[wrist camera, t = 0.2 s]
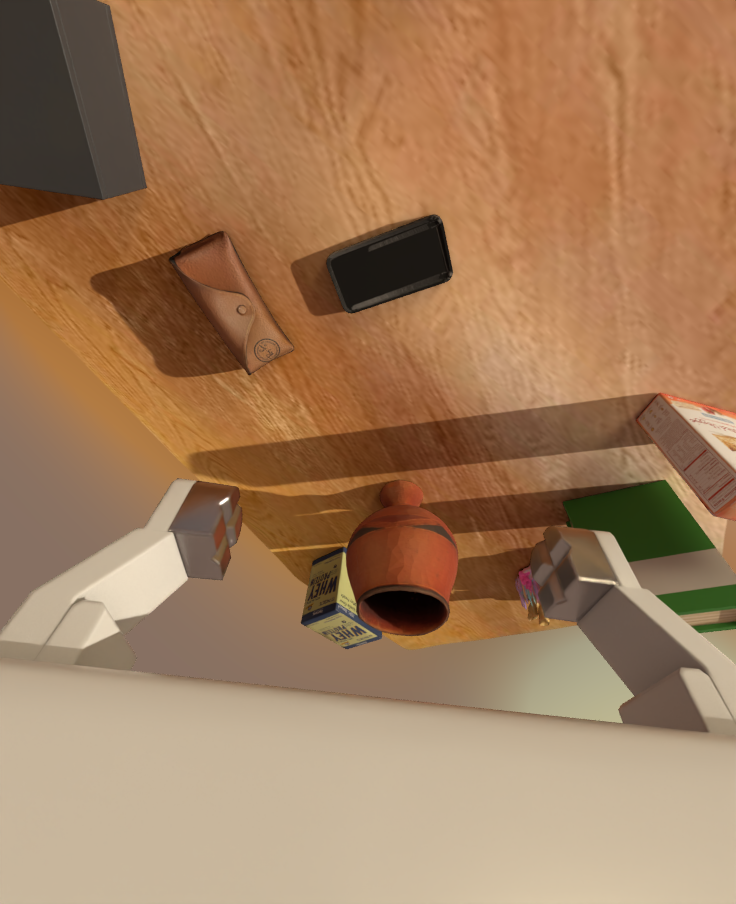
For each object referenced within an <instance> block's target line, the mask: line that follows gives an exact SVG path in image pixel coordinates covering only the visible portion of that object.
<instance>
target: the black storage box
mask: <svg viewBox="0 0 736 904" xmlns="http://www.w3.org/2000/svg"><path fill="white" fill-rule="evenodd" d="M0 184H2V185H9V186H16V187H22V188H29V189H36V190H42V191H49V192H56V193H63V194H69V195H76V196H83V197H89V198H96V199H103V200H104V199H107V198H111V197H115V196H119V195H122V194H126V193H130V192H133V191H137V190H141V189H144V188H147V186H146V182H145V177H144V172H143V167H142V162H141V157H140V152H139V147H138V142H137V138H136V133H135V128H134V123H133V118H132V113H131V108H130V103H129V98H128V94H127V89H126V84H125V79H124V74H123V69H122V64H121V59H120V54H119V50H118V45H117V40H116V35H115V30H114V25H113V20H112V15H111V10H110V6H109V5H107V4H104V3H102V2H99V1H97V0H0Z"/></svg>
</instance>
